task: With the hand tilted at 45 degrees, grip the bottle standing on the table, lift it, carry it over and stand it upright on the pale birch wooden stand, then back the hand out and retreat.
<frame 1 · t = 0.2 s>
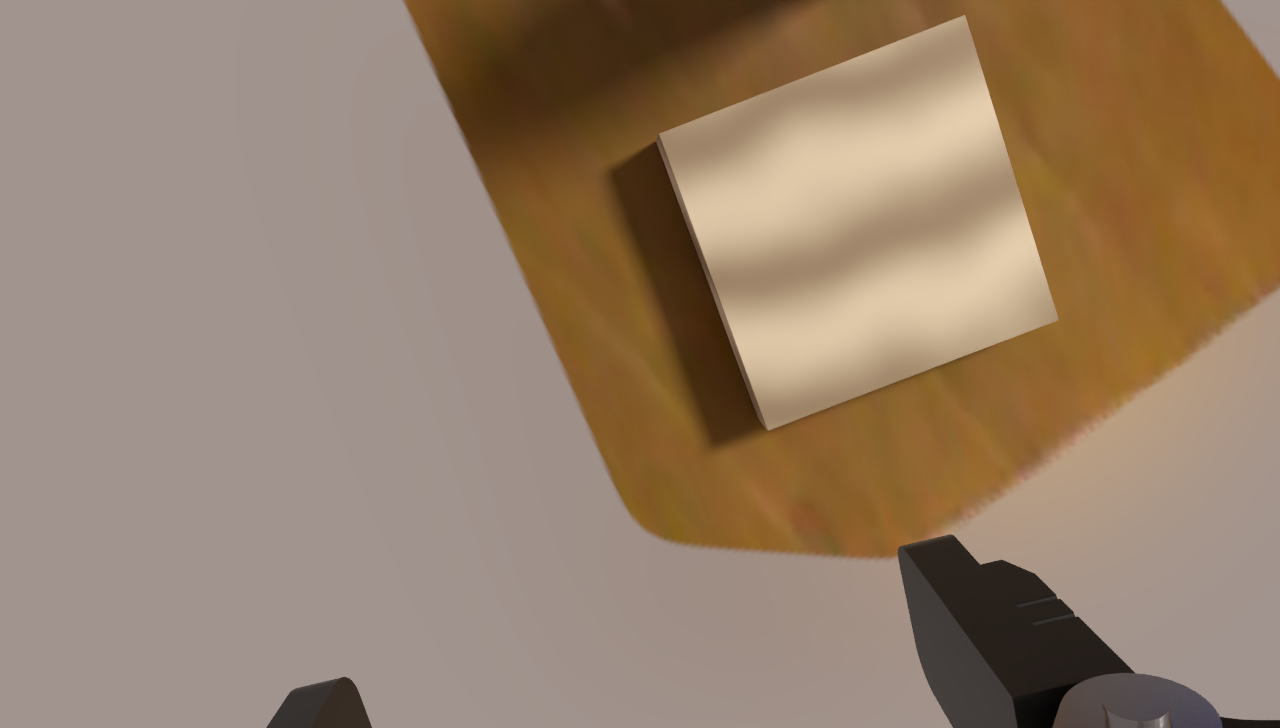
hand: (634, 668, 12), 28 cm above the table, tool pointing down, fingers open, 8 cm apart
birch stand: (847, 230, 40), on the table
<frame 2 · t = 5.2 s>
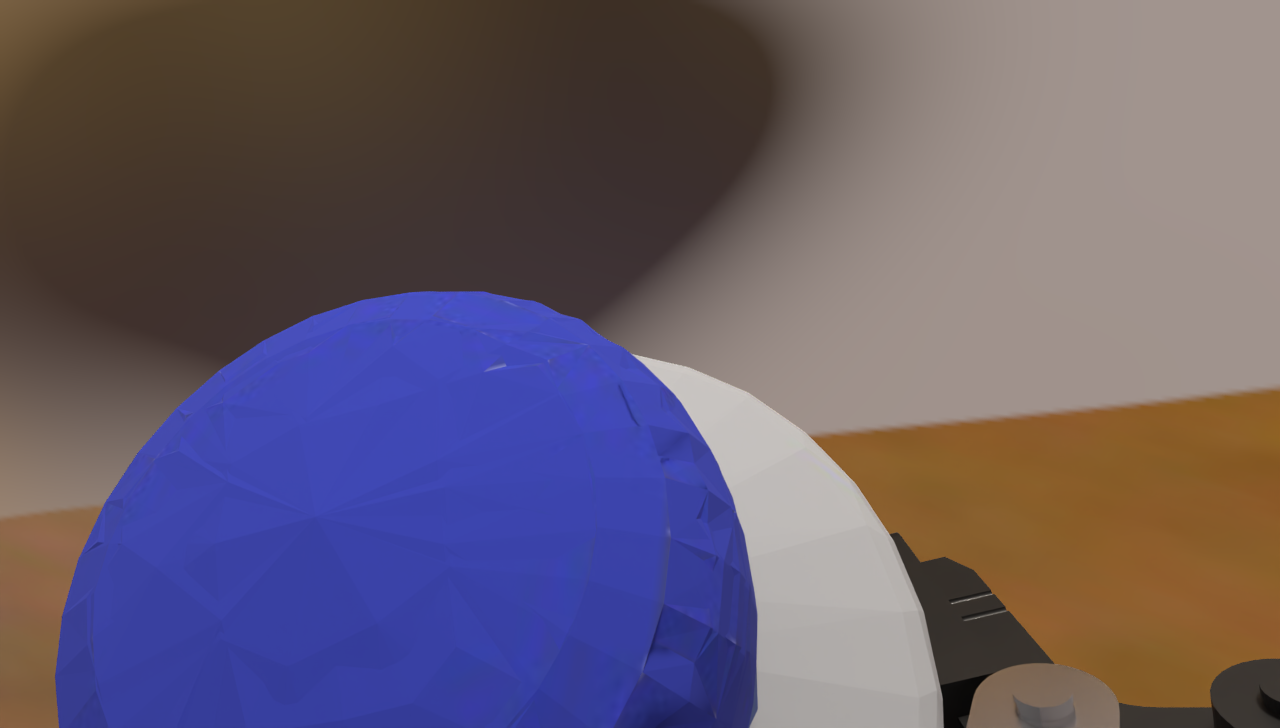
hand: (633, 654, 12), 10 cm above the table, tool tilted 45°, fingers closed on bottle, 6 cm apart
when the fingers open (14 cm above the table, at t = 10.6 s): bottle drops 1 cm, resting on birch stand.
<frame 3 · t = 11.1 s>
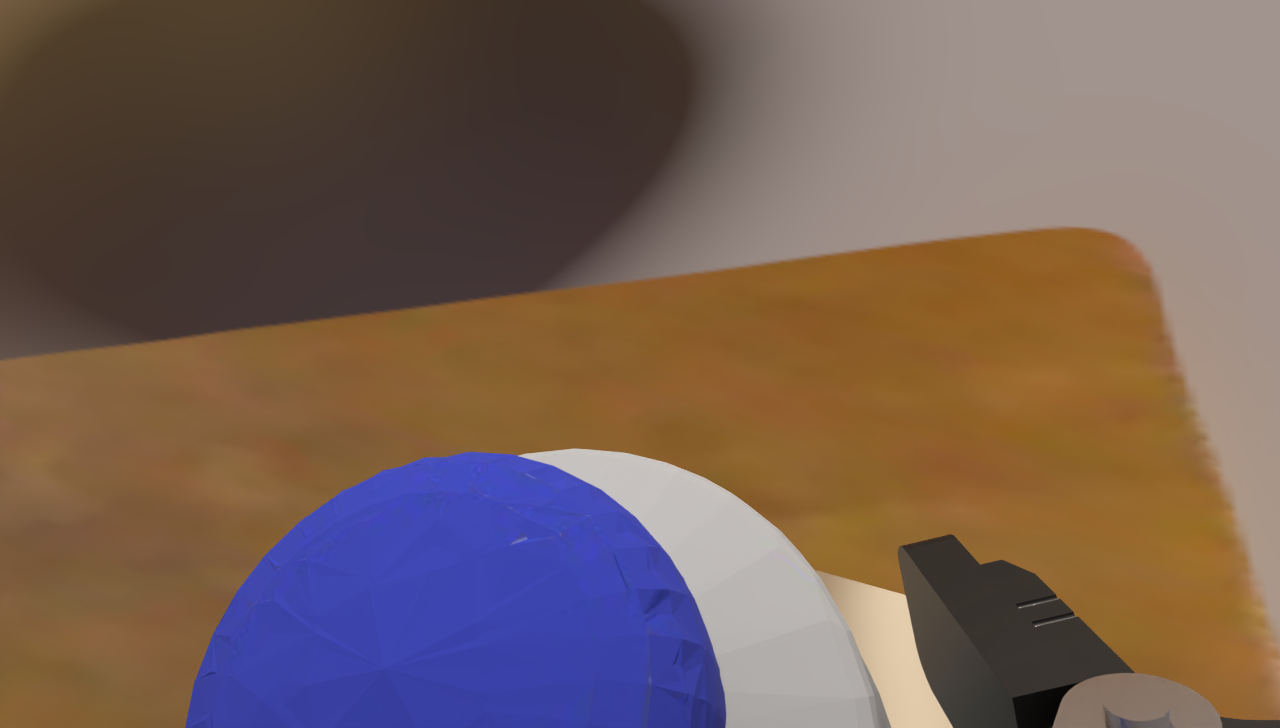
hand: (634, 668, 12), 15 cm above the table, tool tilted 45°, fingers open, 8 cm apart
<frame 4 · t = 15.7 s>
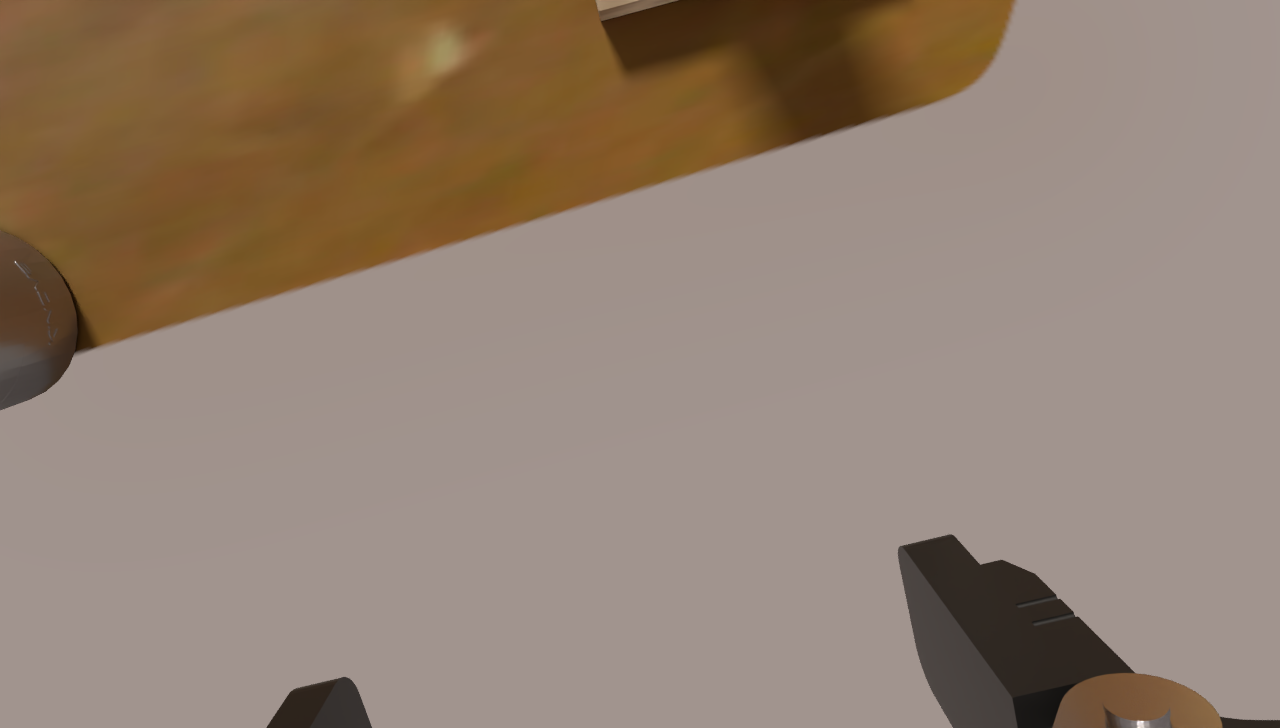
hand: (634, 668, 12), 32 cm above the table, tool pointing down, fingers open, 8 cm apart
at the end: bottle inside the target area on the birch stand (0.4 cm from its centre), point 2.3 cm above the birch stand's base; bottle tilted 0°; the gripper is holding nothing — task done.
